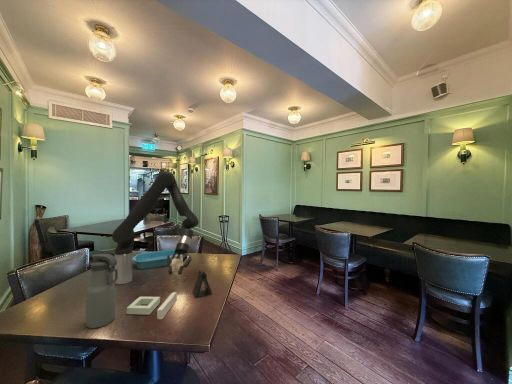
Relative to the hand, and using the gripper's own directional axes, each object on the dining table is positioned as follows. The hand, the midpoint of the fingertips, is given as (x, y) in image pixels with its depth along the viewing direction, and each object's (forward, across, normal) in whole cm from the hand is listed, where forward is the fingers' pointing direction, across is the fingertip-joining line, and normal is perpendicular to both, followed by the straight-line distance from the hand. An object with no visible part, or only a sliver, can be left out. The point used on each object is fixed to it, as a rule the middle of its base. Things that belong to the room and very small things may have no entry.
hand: (174, 273), depth 112 cm
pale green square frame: (+17, -9, -1) cm, 19 cm away
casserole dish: (-26, -31, +43) cm, 59 cm away
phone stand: (+7, +14, +9) cm, 18 cm away
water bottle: (+25, -21, -8) cm, 34 cm away
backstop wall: (+17, +2, -2) cm, 17 cm away
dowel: (+2, 0, +5) cm, 5 cm away
